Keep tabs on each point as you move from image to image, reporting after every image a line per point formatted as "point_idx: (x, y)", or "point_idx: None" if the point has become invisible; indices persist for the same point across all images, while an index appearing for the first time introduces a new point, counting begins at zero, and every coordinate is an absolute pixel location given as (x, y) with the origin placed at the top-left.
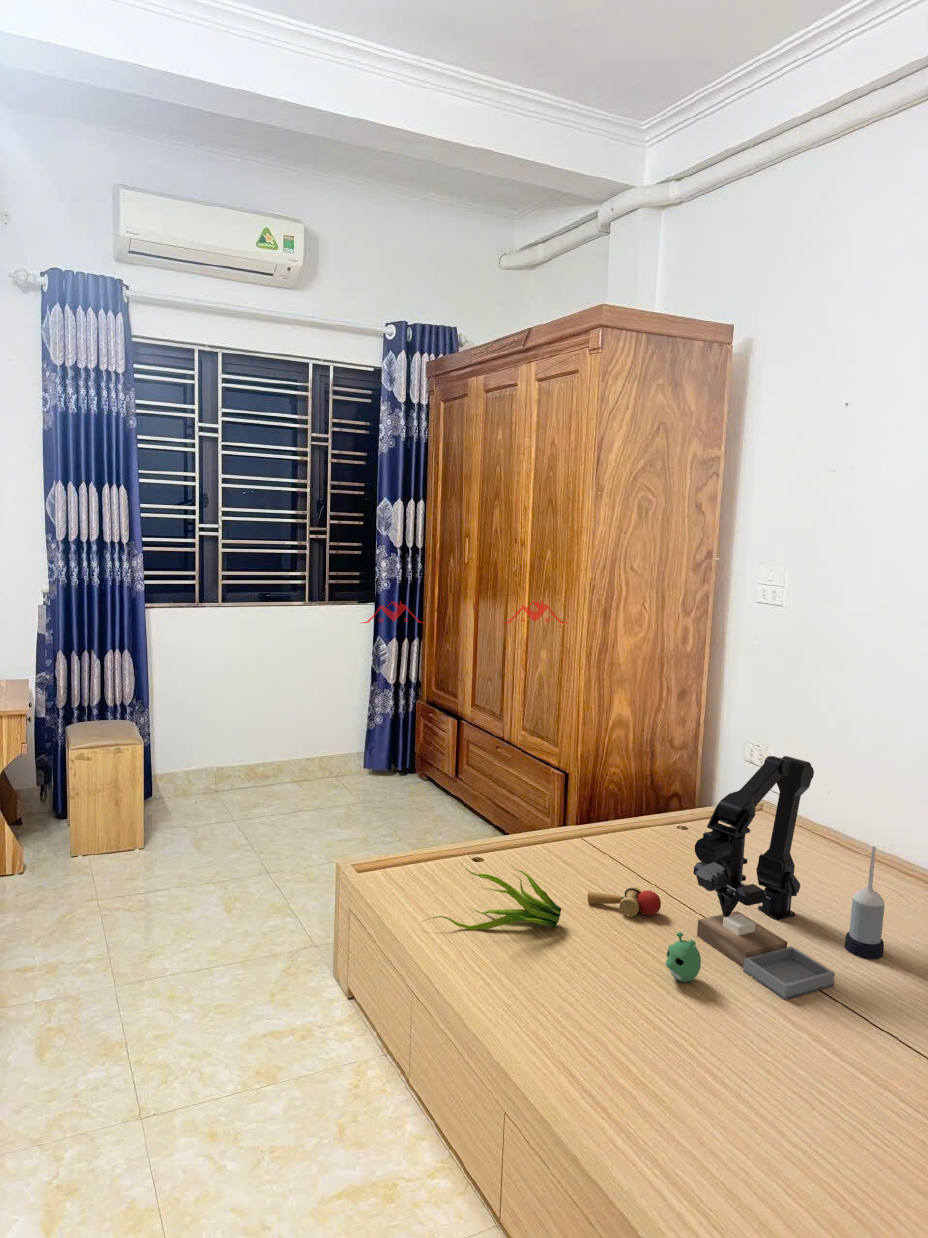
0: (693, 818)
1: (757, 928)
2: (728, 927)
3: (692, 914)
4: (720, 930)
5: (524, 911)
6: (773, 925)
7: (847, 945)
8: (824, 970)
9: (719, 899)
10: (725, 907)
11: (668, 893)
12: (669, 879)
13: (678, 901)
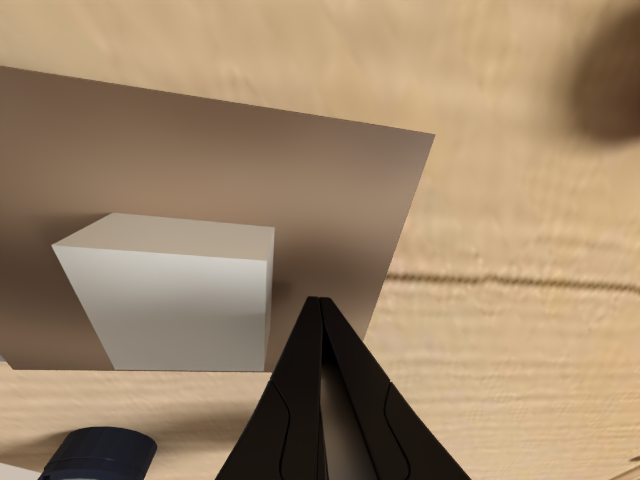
0: (625, 475)
1: None
2: (211, 228)
3: (497, 258)
4: (223, 159)
5: None
6: None
7: (107, 444)
8: None
9: (401, 410)
10: (301, 358)
11: (625, 291)
12: (637, 344)
13: (576, 282)
